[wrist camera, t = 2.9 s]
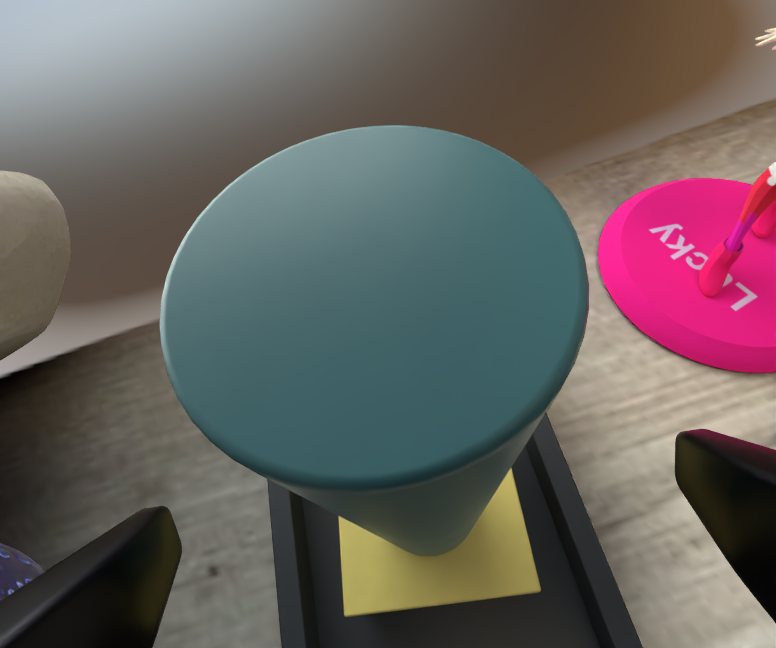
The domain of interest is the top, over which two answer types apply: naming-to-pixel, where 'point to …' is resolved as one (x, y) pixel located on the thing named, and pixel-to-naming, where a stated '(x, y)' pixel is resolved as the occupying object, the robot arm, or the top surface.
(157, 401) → the top surface
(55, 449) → the top surface
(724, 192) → the figurine
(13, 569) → the planter
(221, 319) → the sponge wand
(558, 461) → the tray
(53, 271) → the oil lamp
